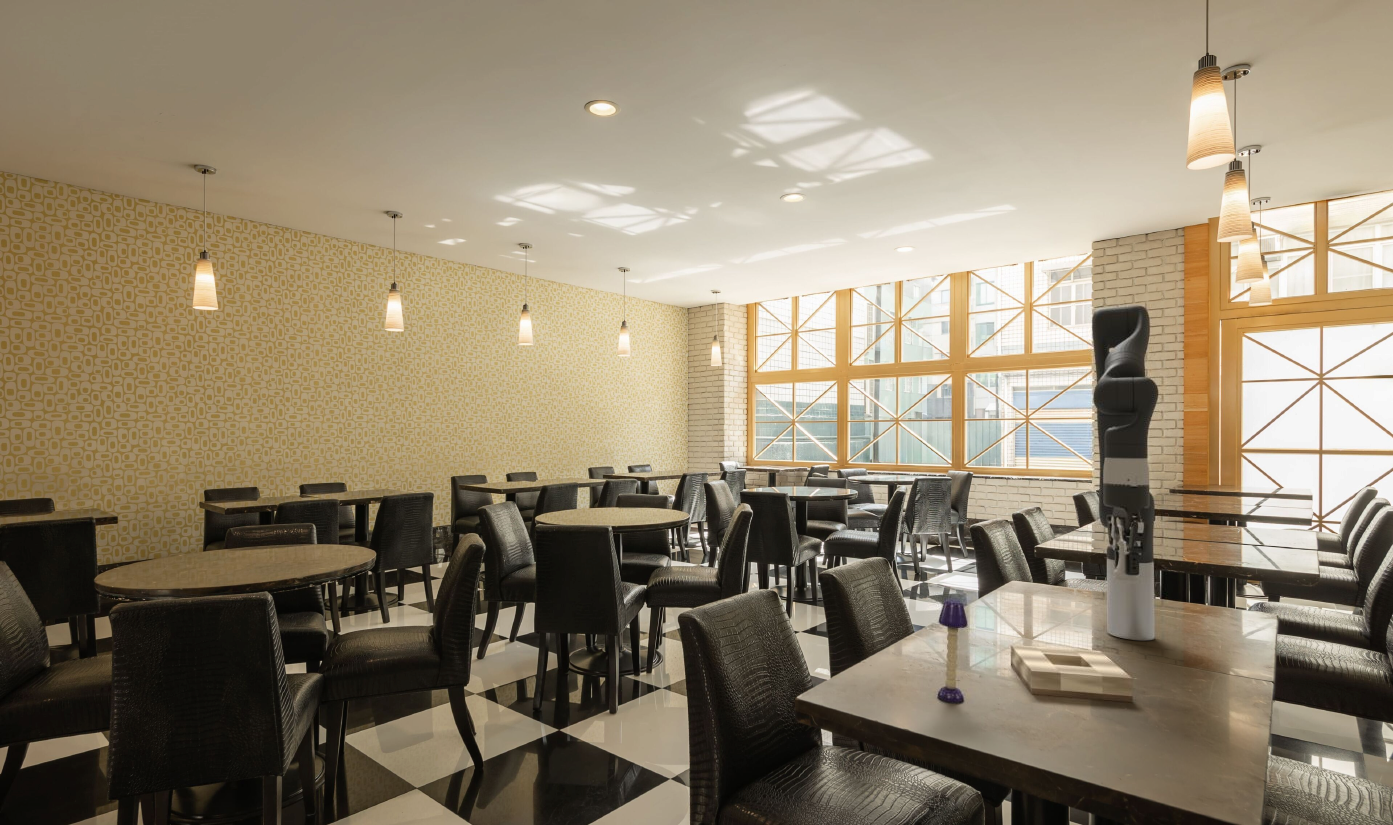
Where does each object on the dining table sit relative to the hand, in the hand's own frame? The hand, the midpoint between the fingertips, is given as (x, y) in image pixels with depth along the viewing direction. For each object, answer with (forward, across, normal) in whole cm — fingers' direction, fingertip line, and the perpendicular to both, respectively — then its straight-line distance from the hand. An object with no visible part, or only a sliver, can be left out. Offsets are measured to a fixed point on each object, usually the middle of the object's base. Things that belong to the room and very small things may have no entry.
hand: (1126, 572), depth 134 cm
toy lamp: (+20, +20, -34) cm, 44 cm away
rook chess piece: (+2, 0, 0) cm, 2 cm away
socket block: (+20, +6, -12) cm, 24 cm away
